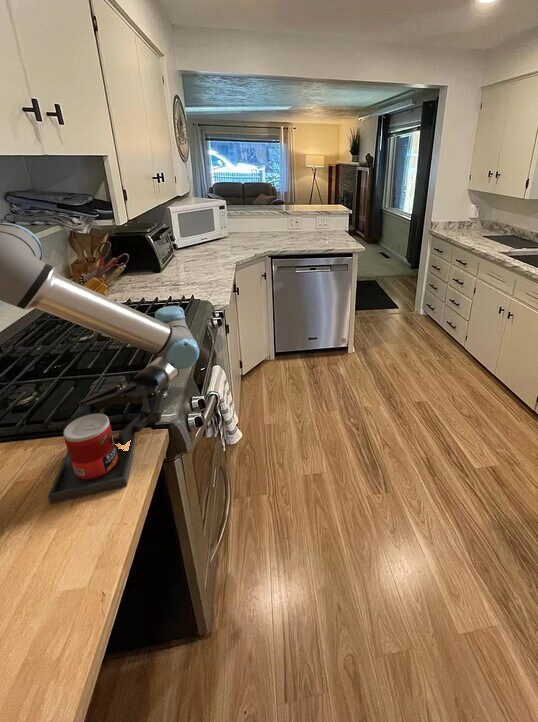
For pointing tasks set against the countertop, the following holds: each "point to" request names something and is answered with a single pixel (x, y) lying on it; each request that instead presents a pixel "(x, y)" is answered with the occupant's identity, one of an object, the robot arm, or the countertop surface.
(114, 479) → the tray
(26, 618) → the countertop surface
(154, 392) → the robot arm
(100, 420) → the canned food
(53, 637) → the countertop surface
